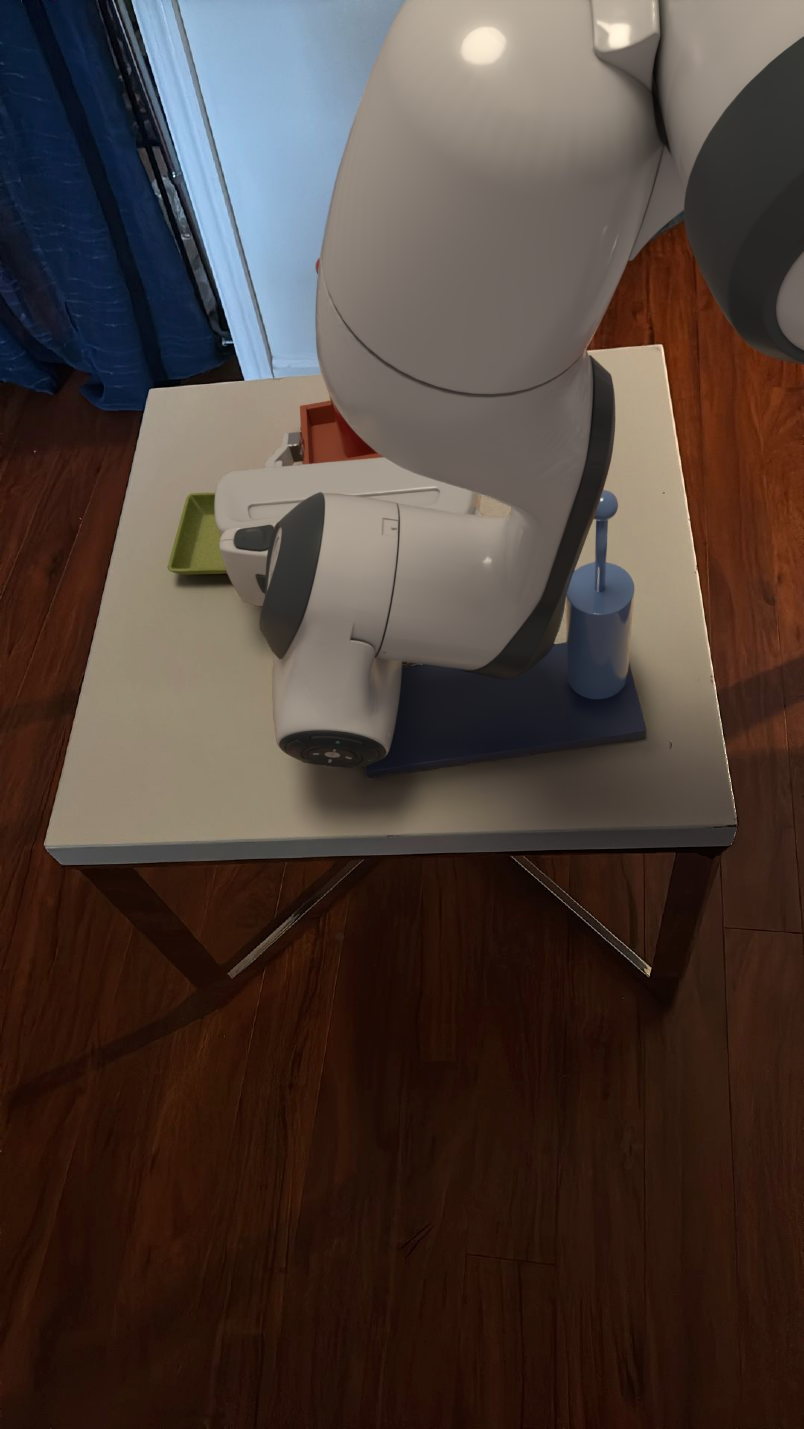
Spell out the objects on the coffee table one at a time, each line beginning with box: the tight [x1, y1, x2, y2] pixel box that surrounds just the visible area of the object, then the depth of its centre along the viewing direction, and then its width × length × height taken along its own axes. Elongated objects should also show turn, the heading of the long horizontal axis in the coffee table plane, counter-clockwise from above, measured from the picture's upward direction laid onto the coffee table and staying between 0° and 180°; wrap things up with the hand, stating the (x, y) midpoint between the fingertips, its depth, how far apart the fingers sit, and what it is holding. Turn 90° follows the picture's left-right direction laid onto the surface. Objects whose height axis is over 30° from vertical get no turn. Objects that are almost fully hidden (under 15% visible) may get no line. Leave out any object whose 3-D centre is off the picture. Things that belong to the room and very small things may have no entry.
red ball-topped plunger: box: [315, 256, 377, 458], centre depth 84 cm, size 4×4×18 cm
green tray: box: [167, 492, 228, 575], centre depth 88 cm, size 9×9×2 cm
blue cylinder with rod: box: [565, 489, 635, 699], centre depth 68 cm, size 4×4×18 cm
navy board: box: [364, 641, 647, 779], centre depth 76 cm, size 20×9×1 cm, turn 95°
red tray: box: [299, 400, 383, 465], centre depth 92 cm, size 11×8×3 cm
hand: (352, 432), depth 83 cm, fingers open, 8 cm apart
